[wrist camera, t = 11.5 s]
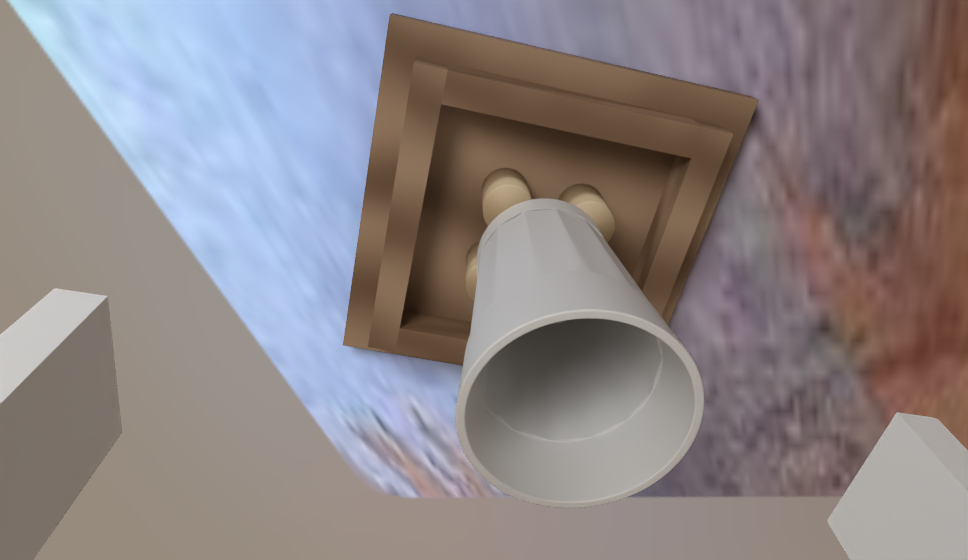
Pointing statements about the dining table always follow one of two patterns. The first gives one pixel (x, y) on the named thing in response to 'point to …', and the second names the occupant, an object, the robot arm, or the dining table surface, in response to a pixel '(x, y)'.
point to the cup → (569, 367)
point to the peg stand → (523, 173)
